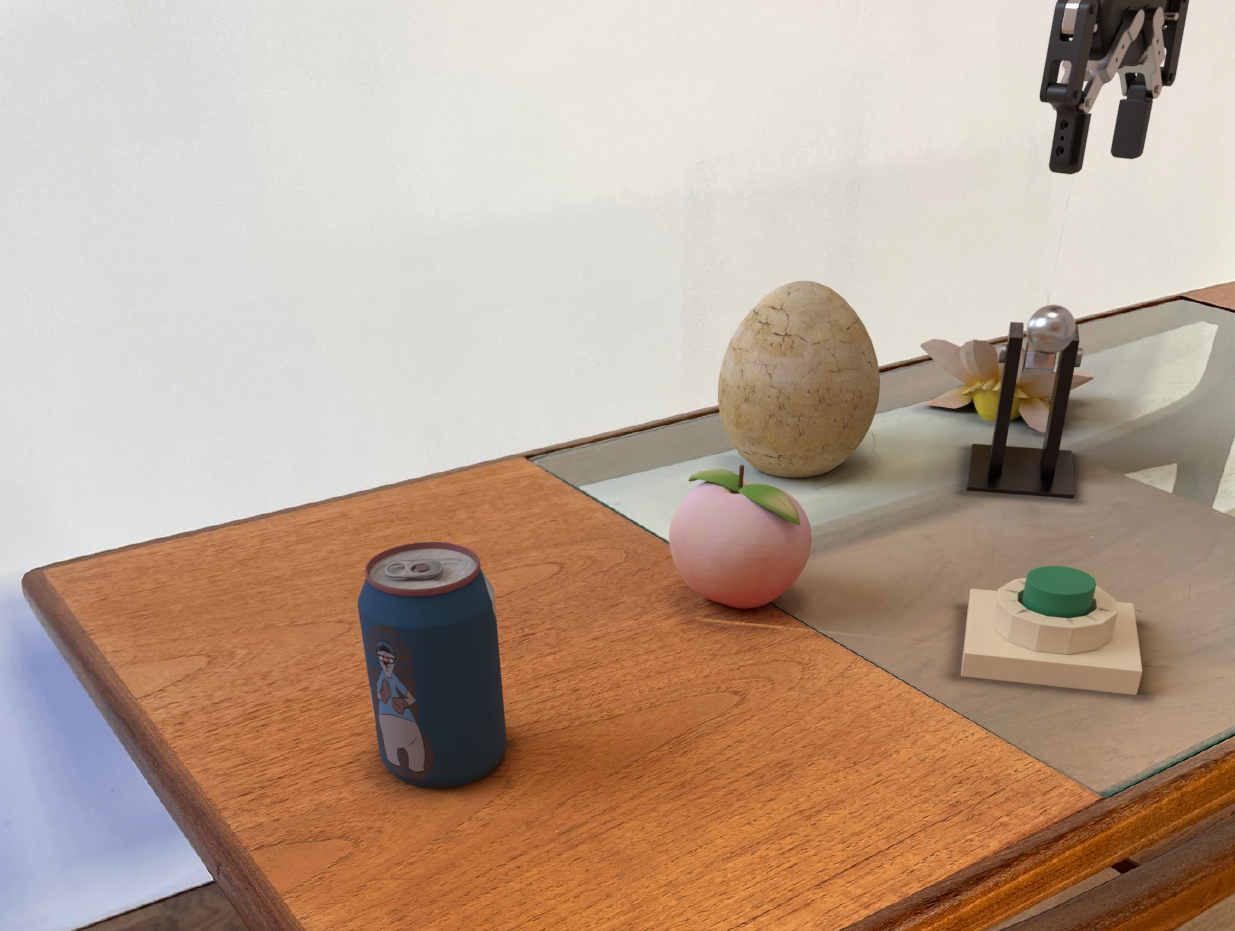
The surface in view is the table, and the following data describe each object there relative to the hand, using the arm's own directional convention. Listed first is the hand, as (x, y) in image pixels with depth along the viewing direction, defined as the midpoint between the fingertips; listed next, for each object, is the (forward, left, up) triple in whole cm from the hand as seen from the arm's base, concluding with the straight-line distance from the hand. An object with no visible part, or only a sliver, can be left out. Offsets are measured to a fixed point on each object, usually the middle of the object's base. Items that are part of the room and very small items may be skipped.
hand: (1095, 165), depth 92 cm
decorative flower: (+3, -12, -23) cm, 26 cm away
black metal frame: (+2, +3, -23) cm, 23 cm away
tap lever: (+2, +8, -12) cm, 15 cm away
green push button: (0, +33, -19) cm, 38 cm away
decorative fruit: (+20, +31, -23) cm, 43 cm away
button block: (0, +33, -23) cm, 40 cm away
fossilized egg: (+20, +5, -23) cm, 31 cm away
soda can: (+32, +53, -23) cm, 66 cm away
